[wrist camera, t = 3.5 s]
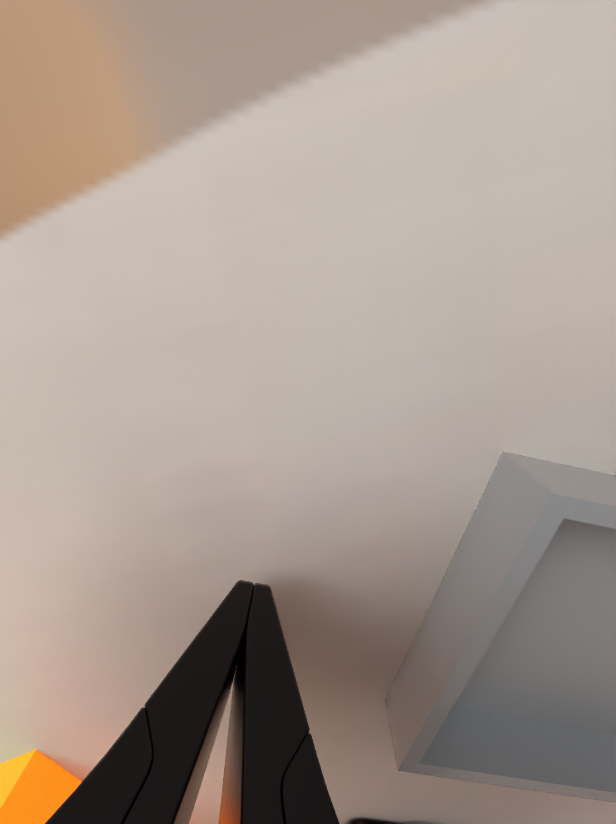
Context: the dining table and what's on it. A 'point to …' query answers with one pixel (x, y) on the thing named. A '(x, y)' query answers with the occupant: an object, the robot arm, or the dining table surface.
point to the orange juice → (33, 789)
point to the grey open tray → (520, 641)
